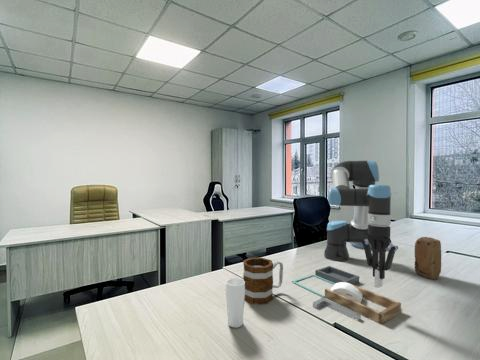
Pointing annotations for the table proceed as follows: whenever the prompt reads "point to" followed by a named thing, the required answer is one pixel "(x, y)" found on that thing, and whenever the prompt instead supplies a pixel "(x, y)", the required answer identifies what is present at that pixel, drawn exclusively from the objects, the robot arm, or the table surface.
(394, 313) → the wooden u-shaped frame
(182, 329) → the table surface
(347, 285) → the computer mouse
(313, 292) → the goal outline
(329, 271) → the grey tray
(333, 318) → the table surface
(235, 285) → the drinking glass
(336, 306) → the grey l-shaped bar
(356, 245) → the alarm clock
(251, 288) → the mug
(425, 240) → the block
